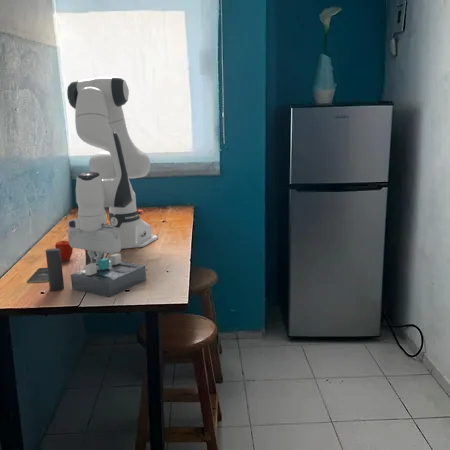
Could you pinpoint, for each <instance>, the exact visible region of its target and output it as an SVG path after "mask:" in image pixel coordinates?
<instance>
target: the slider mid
mask: <svg viewBox="0 0 450 450" xmlns="http://www.w3.org/2000/svg"><path fill="white" fill-rule="evenodd" d="M109 260H110V258H107V257H104V258H103V259H100V260H98V268H99V269H100V270H105V269H107V268H109Z"/></svg>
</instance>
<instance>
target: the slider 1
mask: <svg viewBox="0 0 450 450" xmlns="http://www.w3.org/2000/svg"><path fill="white" fill-rule="evenodd" d="M84 269H85V275H93V274H95V273H97V269H96V264H94V263H90V264H88V265H86V264H85V265H84Z"/></svg>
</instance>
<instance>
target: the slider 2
mask: <svg viewBox="0 0 450 450" xmlns="http://www.w3.org/2000/svg"><path fill="white" fill-rule="evenodd" d="M109 259H110V260H111V264H113V265H117V264H119V263H121V262H122V254H121V253H115V254H111V255H110V258H109Z"/></svg>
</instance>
